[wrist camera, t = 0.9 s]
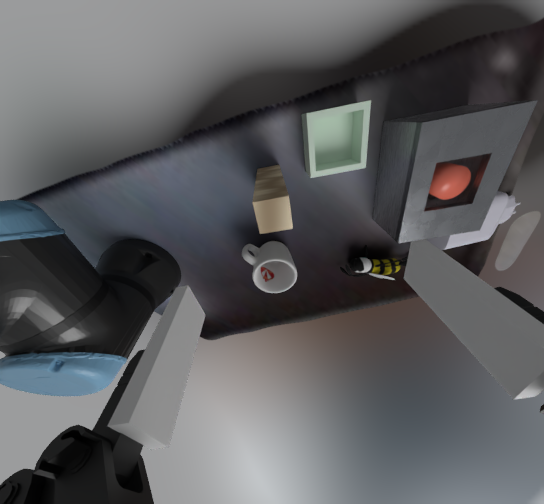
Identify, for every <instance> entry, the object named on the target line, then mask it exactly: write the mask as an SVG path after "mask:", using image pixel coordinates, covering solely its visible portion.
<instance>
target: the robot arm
mask: <svg viewBox="0 0 544 504" xmlns="http://www.w3.org/2000/svg"><path fill="white" fill-rule="evenodd" d="M404 279H405V280H406V282H407V283H408V284H409V285H410V286H411V287H412V288H413V289H414V290H415V291H416V293H417V294H418V295H419V296H420V297H421V298H422V299H423V300H424V301H425V302H426V304H427V305H428V306H429V307H430V308H431V309H432V310H433V311H434V312H435V313H436V315H437V316H438V317H439V318H440V319H441V320H442V321H443V322H444V323H445V325H446V326H447V327H448V328H449V329H450V330H451V331H452V332H453V333H454V334H455V336H456V337H457V338H458V339H459V340H460V341H461V342H462V343H463V344H464V345H465V347H466V348H467V349H468V350H469V351H470V352H471V353H472V354H473V355H474V356H475V358H476V359H477V360H478V361H479V362H480V363H481V364H482V365H483V366H484V367H485V369H486V370H487V371H488V372H489V373H490V374H491V375H492V376H493V377H494V379H496V381H497V382H498V383H499V384H500V385H501V386H502V387H503V388H504V389H505V391H506V392H507V393H508V394H509V395H510V396H511V397H512V398H513V399H520V398H528V397H534V396H537V395H538V394H539V393H540V392H542V391H543V390H544V312H543V311H542V310H540V309H539V308H537V307H534V306H533V304H532V303H530V302H528V301H527V300H526V299H524V298H523V297H521V296H520V295H518V294H516V293H514V292H511V291H509V290H507V289H504V288H502V287H497V288H493V287H491V286H490V285H488V284H487V283H486V282H484V281H483V280H481V279H480V278H479V277H477V276H476V275H474V274H473V273H472V272H470V271H469V270H468V269H466V268H465V267H463V266H462V265H461V264H459V263H458V262H456V261H455V260H454V259H452V258H451V257H449V256H448V255H447V254H445V253H444V252H443V251H441V250H440V249H438V248H437V247H436V246H434V245H433V244H431V243H430V242H429V241H427V240H426V239H423V240H418V241H413V242H411V245H410V250H409V255H408V260H407V265H406V270H405V275H404ZM180 280H181V271H180V268H179V266H178V264H177V262H176V261H175V259H174V258H173V257H172V256H171V255H170V254H169V253H168V252H166V251H165V250H164V249H162V248H160V247H159V246H157V245H155V244H152V243H149V242H146V241H142V240H134V239H130V240H123V241H119V242H117V243H115V244H113V245H112V246H111V247H110V248H108V249H107V250H106V251H105V252H104V253H103V254H102V256H101V257H100V260H99V263H98V265H97V267H96V268H95V269H94V267H93V266H92V265H91V264H90V263H89V262H88V260H87V259H86V258H85V257H84V256H83V255H82V253H81V252H80V251H79V250H78V249H77V248H76V246H75V245H74V244H73V243H72V242H71V241H70V239H69V238H68V237H67V236H66V235H65V231H64V229H61V228H59V227H58V226H57V225H56V224H55V223H54V221H53V220H52V219H51V218H50V217H49V216H48V215H47V214H46V213H45V212H44V211H43V210H42V209H41V208H40V207H38V206H37V205H35V204H33V203H30V202H27V201H23V200H7V201H0V351H1V352H3V353H4V354H5V355H6V356H5V357H4V358H2V359H0V383H1V384H2V385H5V386H7V387H10V388H13V389H16V390H20V391H25V392H30V393H35V394H42V395H51V396H81V395H88V394H92V393H96V392H98V391H101V390H102V389H104V388H106V387H107V386H108V385H109V384H110V383H111V382H112V381H113V379H114V378H115V376H116V375H117V373H118V372H119V370H120V369H121V367H122V366H123V364H125V363H126V361H127V359H128V357H129V355H130V353H131V351H132V350H133V347H134V346H135V344H136V342H137V340H138V339H139V337H140V335H141V333H142V331H143V330H144V328H145V326H146V324H147V322H148V320H149V319H150V317H151V315H152V313H153V312H154V310H155V309H156V308H157V307H158V306H159V305H160V304H162V303H163V302H164V301H165V300H166V299H167V298H168V297H170V296H171V295H172V294H173V295H172V297H171V299H170V301H169V303H168V305H167V307H166V309H165V311H164V313H163V315H162V317H161V319H160V321H159V323H158V325H157V327H156V329H155V331H154V333H153V335H152V337H151V339H150V341H149V343H148V345H147V347H146V349H145V350H140V351H138V352H137V354H136V355H135V356H134V357H133V358H132V359H131V361H130V362H129V364H128V366H127V367H126V369H125V371H124V373H123V376H122V377H121V379H120V381H119V382H118V386H117V387H116V388H115V390H114V392H113V393H112V395H111V398H110V399H109V401H108V403H107V405H106V406H105V409H104V410H103V412H102V414H101V416H100V418H99V420H98V421H97V423H96V425H95V427H94V429H93V430H92V431H91V430H89V429H87V428H85V427H83V426H80V425H76V426H72V427H70V428H68V429H66V430H65V431H63V432H62V433H60V435H58V436H57V437H56V438H55V439H54V440H53V441H52V442H51V443H50V444H49V446H48V447H47V448H46V449H45V450H44V452H43V453H42V455H41V457H40V458H39V460H38V462H37V463H36V467H35V470H31V469H23V470H20V471H18V472H16V473H14V474H13V475H12V476H10V477H9V478H8V479H6V480H5V481H4V482H3V483H2V484H1V485H0V504H154V502H153V498H152V494H151V490H150V486H149V481H148V477H147V473H146V469H145V465H144V461H143V458H142V456H141V455H140V453H141V450H142V447H143V446H145V447H147V448H149V449H150V450H153V449H160V448H167V447H169V445H170V441H171V437H172V433H173V430H174V427H175V423H176V419H177V416H178V412H179V408H180V405H181V401H182V398H183V394H184V390H185V387H186V383H187V380H188V376H189V372H190V368H191V365H192V361H193V358H194V354H195V351H196V347H197V343H198V340H199V336H200V333H201V329H202V325H203V322H204V318H205V313H204V312H203V310H202V308H201V306H200V305H199V303H198V301H197V300H196V298H195V296H194V294H193V293H192V291H191V289H190V288H189V286H188V285H187V286H182V287H178V285H179V283H180ZM540 413H543V414H544V405H542V406H541V409H540Z"/></svg>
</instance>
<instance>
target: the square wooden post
mask: <svg viewBox="0 0 544 504" xmlns="http://www.w3.org/2000/svg"><path fill="white" fill-rule="evenodd" d="M253 206H254V211H255V215H256V219H257V223H258V228H259V232H260V234H264V233H270V232H276V231H282V230H288V229H293V225H292V217H291V209H290V202H289V195H288V192H287V189H286V185H285V182H284V179H283V176H282V172H281V169H280V166H279V165H275V166H270V167H264V168H259V169H257V176H256V183H255V189H254V196H253Z"/></svg>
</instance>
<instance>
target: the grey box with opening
mask: <svg viewBox="0 0 544 504" xmlns="http://www.w3.org/2000/svg"><path fill="white" fill-rule="evenodd" d="M537 101H538V100H534V101H519V102H504V103H489V104H474V105H465V106H460V107H455V108H450V109H445V110H439V111H434V112H429V113H424V114H419V115H414V116H409V117H404V118H399V119H394V120H389V121H384V122H383V128H382V138H381V147H380V156H379V165H378V174H377V183H376V192H375V201H374V210H373V220H374V221H375V222H376V223H377V224H378V225H379V226H380V227H381V228H382V229H383V230H385V231H386V232H387V233H388V234H389V235H390V236H391V237H392V238H393V239H394V240H395V241H396V242H397V243H403V242H409V241H416V240H422V239H429V238H435V237H441V236H448V235H454V234H460V233H467V232H473V231H480V229H481V227H482V225H483V222H484V220H485V218H486V216H487V213H488V211H489V209H490V207H491V204H492V202H493V200H494V198H495V195H496V193H497V191H498V189H499V186H500V184H501V182H502V179H503V177H504V175H505V173H506V170H507V168H508V166H509V164H510V161H511V159H512V157H513V155H514V152H515V150H516V148H517V146H518V143H519V141H520V139H521V137H522V134H523V132H524V130H525V128H526V125H527V123H528V121H529V119H530V116H531V114H532V112H533V110H534V107H535V105H536V103H537ZM439 162H448V163H452V164H457V165H461V166H465V167H467V168H468V169H469V170H470V172H471V178H470V181H469V183H468V185H467V187H466V188H465V189H464V190H463V191H462V192H461V193H460V194H459V195H457V196H455V197H453V198H451V199H446V200H443V199H439V198H437V197H435V196H433V195H431V194H429V190H430V186H431V182H432V178H433V174H434V171H435V167H436V163H439Z"/></svg>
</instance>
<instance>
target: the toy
mask: <svg viewBox="0 0 544 504" xmlns="http://www.w3.org/2000/svg"><path fill="white" fill-rule="evenodd" d="M367 253H368V250H367V245H366V251H365V257H361V258H359V257H358V258H353V259H352V260H351V261H350V264H349V265H350V268H351V269H352V270H353V271H355V272H363V274H364V275H367V274H370V275H372V276H375V277H378V278H380V277H382V279H383V278H386V279H391V280H395V279H393V278H390V277H387V276H382V275H387V274H392V273H395V272H397V271H399V270H400V269H401V265H403V266H406V265H407V259H408V257H405V258H403V259H402V260H403V262H402V261H401V260H397V259H393V258H390V259H385V260H376V259H367ZM340 269H341V270H342V272H344V273H345V274H347V275H348V276H354V277H360V276H364V275H363V274H359V275H352V274H351V272H350V269H349V267H348V266H347V265H346V270H347V271H348V273H349V274H350V275H349V274H348V273H347V272H346V271H345V270H344V269H343V268H342V267H340ZM364 272H365V273H366V272H367V274H365V273H364Z"/></svg>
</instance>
